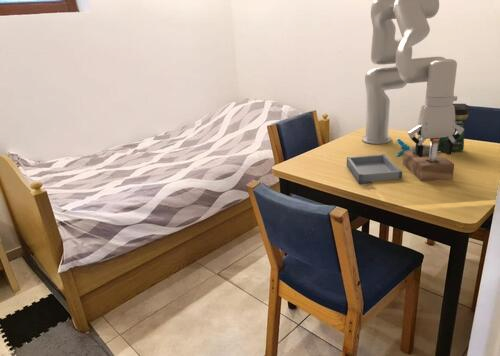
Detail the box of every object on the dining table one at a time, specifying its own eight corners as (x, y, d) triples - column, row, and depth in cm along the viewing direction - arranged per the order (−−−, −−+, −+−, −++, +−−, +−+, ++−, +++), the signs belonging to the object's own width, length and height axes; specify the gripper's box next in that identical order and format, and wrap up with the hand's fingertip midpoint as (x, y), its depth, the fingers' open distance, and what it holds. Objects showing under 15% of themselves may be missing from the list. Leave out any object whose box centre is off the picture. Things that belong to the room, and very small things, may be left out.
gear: (419, 159, 134) (399, 139, 135) (405, 169, 137) (386, 150, 137) (417, 153, 144) (399, 135, 145) (405, 163, 146) (387, 145, 147)
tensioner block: (402, 166, 133) (403, 143, 130) (430, 164, 132) (432, 141, 129) (420, 183, 118) (423, 158, 115) (452, 181, 118) (455, 155, 114)
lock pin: (424, 173, 123) (428, 136, 118) (433, 173, 123) (437, 135, 118) (428, 177, 120) (432, 139, 115) (437, 176, 120) (442, 138, 115)
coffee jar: (438, 154, 142) (443, 106, 135) (433, 147, 149) (438, 102, 142) (465, 153, 139) (472, 105, 132) (459, 147, 146) (465, 101, 139)
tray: (346, 165, 138) (346, 157, 137) (383, 163, 138) (384, 154, 137) (359, 184, 122) (359, 174, 120) (401, 181, 121) (402, 171, 120)
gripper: (461, 96, 115) (454, 149, 122) (405, 101, 116) (401, 153, 122) (474, 101, 108) (466, 156, 115) (415, 106, 109) (410, 160, 115)
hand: (433, 154), depth 119 cm, fingers open, 8 cm apart
